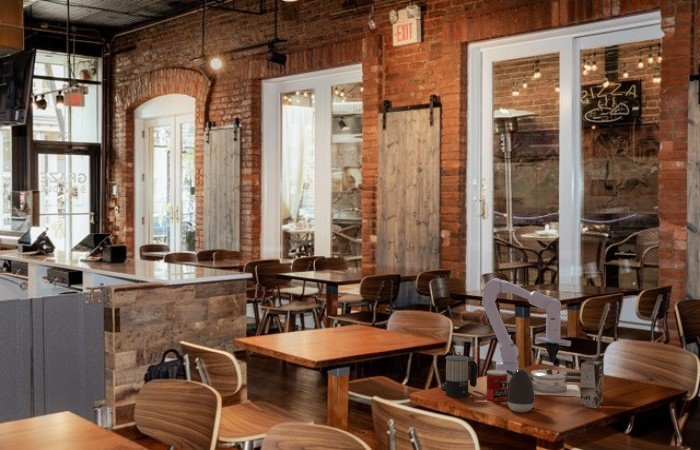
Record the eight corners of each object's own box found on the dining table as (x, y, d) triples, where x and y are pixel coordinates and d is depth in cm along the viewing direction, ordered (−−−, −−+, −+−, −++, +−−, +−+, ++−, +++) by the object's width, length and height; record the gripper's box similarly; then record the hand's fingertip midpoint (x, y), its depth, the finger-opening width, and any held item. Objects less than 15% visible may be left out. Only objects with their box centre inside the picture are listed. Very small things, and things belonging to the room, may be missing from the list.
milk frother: (459, 399, 316) (460, 360, 315) (426, 392, 326) (427, 354, 326) (480, 393, 326) (481, 355, 325) (448, 386, 337) (448, 350, 336)
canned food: (494, 403, 309) (495, 374, 309) (482, 399, 316) (482, 370, 316) (511, 401, 312) (511, 372, 312) (498, 397, 320) (498, 368, 319)
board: (530, 396, 321) (530, 393, 321) (526, 385, 341) (527, 382, 341) (583, 399, 318) (583, 396, 318) (576, 387, 338) (576, 385, 338)
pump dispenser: (508, 405, 306) (509, 365, 305) (536, 409, 302) (537, 367, 301) (502, 412, 296) (503, 370, 296) (531, 415, 293) (532, 372, 292)
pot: (524, 391, 324) (525, 378, 324) (522, 384, 338) (523, 370, 338) (590, 395, 321) (590, 380, 320) (585, 387, 334) (585, 373, 334)
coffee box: (596, 408, 303) (597, 365, 303) (579, 406, 307) (580, 363, 306) (603, 403, 311) (604, 361, 311) (586, 401, 315) (587, 359, 314)
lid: (531, 378, 324) (531, 372, 324) (530, 370, 338) (530, 364, 338) (590, 381, 320) (590, 375, 320) (587, 373, 334) (587, 367, 334)
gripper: (532, 327, 339) (531, 360, 340) (565, 331, 330) (565, 365, 330) (540, 325, 345) (539, 358, 345) (573, 329, 336) (572, 362, 336)
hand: (552, 361), depth 338 cm, fingers closed
